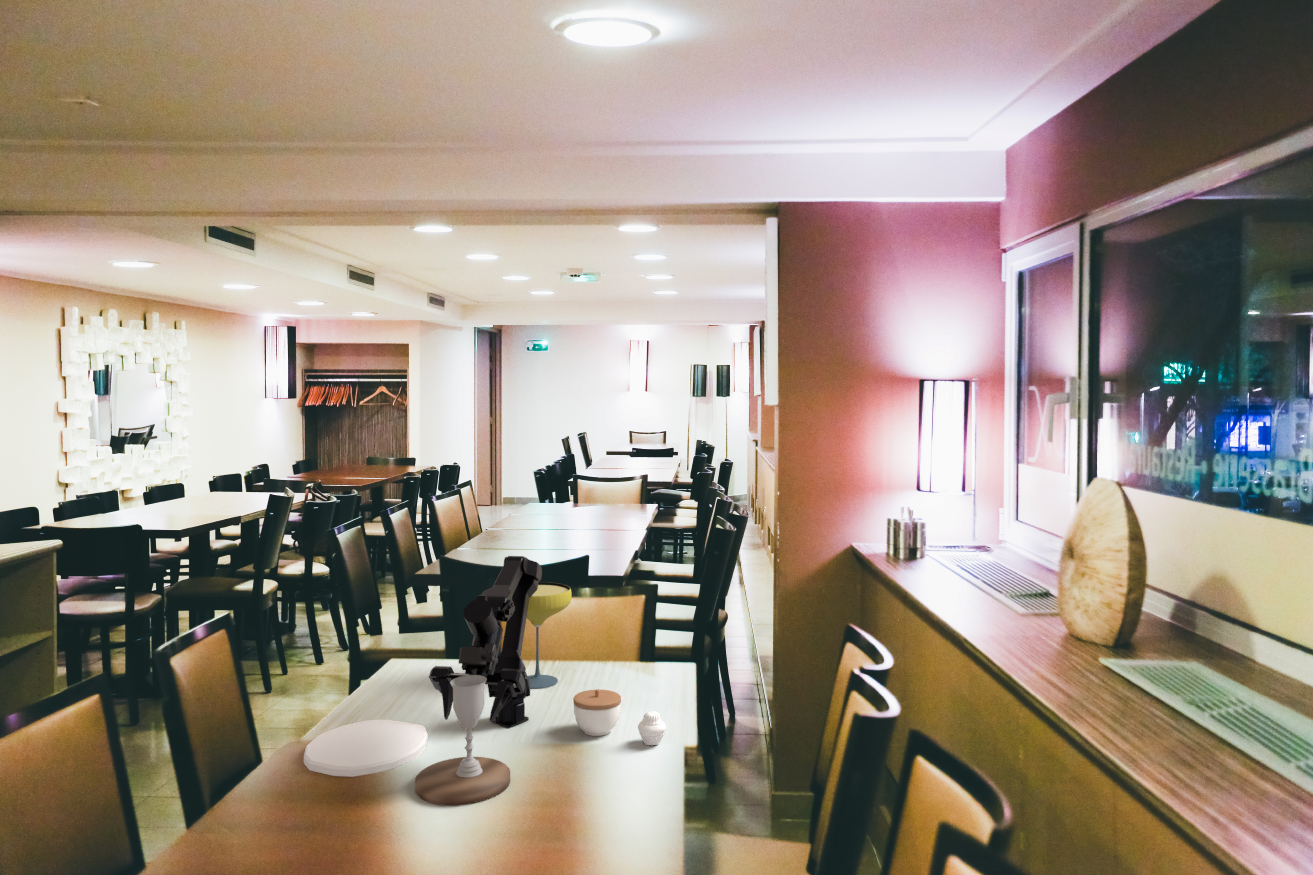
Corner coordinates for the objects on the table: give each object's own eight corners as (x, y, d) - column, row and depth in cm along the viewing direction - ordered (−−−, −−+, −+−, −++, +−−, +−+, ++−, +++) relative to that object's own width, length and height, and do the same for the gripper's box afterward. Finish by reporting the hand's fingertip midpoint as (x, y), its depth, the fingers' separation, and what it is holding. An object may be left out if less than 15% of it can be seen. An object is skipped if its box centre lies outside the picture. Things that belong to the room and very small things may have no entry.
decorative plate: (358, 705, 194) (449, 720, 185) (358, 723, 194) (449, 738, 185) (274, 746, 170) (374, 765, 162) (275, 766, 170) (375, 786, 162)
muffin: (669, 739, 184) (669, 708, 184) (660, 750, 178) (660, 717, 178) (643, 735, 186) (643, 704, 186) (633, 746, 180) (633, 714, 180)
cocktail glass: (567, 693, 214) (567, 596, 213) (496, 693, 214) (496, 596, 213) (575, 671, 232) (575, 582, 231) (510, 671, 232) (509, 581, 231)
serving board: (395, 787, 160) (395, 779, 160) (468, 756, 175) (468, 749, 174) (456, 814, 149) (456, 806, 149) (529, 779, 164) (529, 771, 164)
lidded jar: (614, 742, 183) (614, 699, 182) (567, 737, 185) (567, 696, 184) (625, 724, 193) (625, 683, 193) (581, 720, 195) (581, 680, 195)
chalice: (467, 761, 168) (466, 673, 168) (495, 767, 165) (494, 677, 165) (443, 775, 162) (442, 683, 161) (471, 782, 159) (470, 688, 158)
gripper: (431, 627, 170) (410, 699, 160) (521, 629, 168) (506, 703, 158) (445, 653, 179) (426, 724, 168) (531, 656, 177) (517, 728, 166)
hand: (468, 719), depth 165 cm, fingers open, 9 cm apart
